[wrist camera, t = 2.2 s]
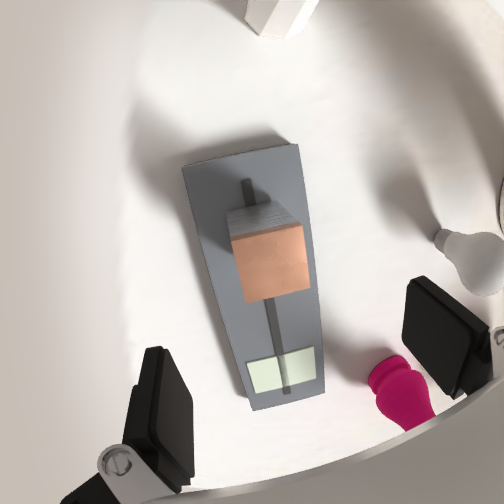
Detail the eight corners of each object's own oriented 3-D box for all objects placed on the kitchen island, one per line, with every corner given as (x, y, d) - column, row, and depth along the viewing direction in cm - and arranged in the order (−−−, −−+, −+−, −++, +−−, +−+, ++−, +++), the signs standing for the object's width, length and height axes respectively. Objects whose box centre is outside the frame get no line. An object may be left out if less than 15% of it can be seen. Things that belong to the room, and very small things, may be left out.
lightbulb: (438, 269, 30) (498, 314, 20) (409, 248, 29) (477, 296, 18) (461, 226, 29) (527, 261, 18) (435, 201, 27) (511, 233, 17)
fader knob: (277, 200, 22) (302, 225, 16) (285, 248, 24) (310, 287, 18) (225, 212, 22) (230, 241, 16) (236, 259, 24) (245, 303, 17)
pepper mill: (355, 389, 36) (414, 505, 17) (383, 350, 34) (463, 469, 15) (390, 390, 37) (449, 489, 19) (416, 354, 35) (492, 453, 17)
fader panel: (291, 143, 23) (298, 144, 21) (320, 381, 34) (325, 393, 32) (184, 165, 23) (181, 168, 21) (250, 399, 34) (252, 412, 31)
